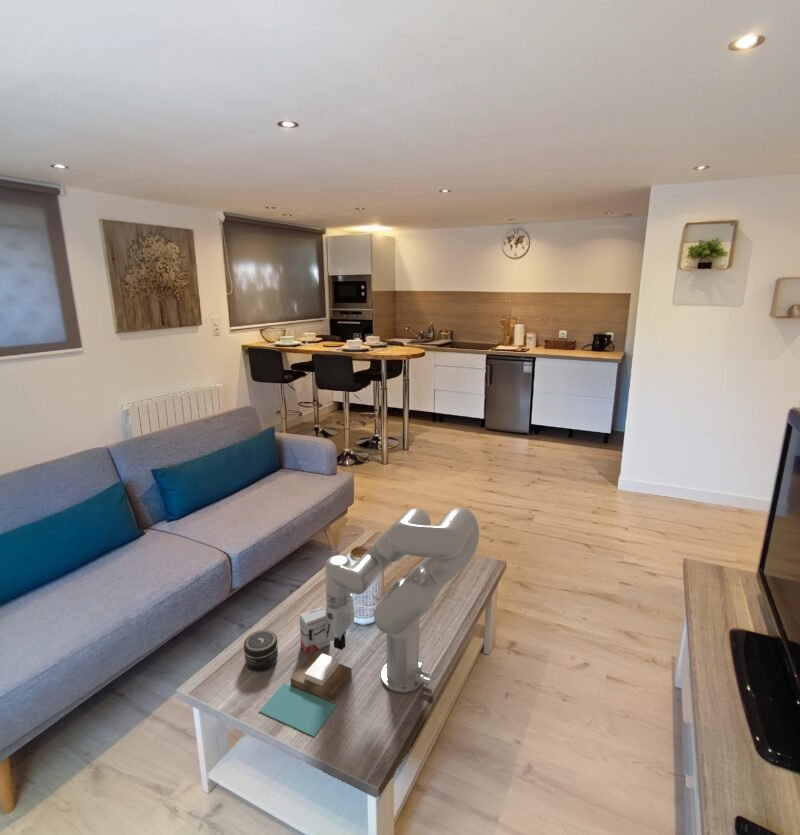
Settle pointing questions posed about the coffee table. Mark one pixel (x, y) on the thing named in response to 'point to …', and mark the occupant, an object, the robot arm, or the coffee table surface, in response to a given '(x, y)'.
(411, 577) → the robot arm
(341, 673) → the brown flat block
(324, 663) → the white rubber eraser
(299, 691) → the mat
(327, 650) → the coffee table surface
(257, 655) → the jar
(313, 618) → the ink box
